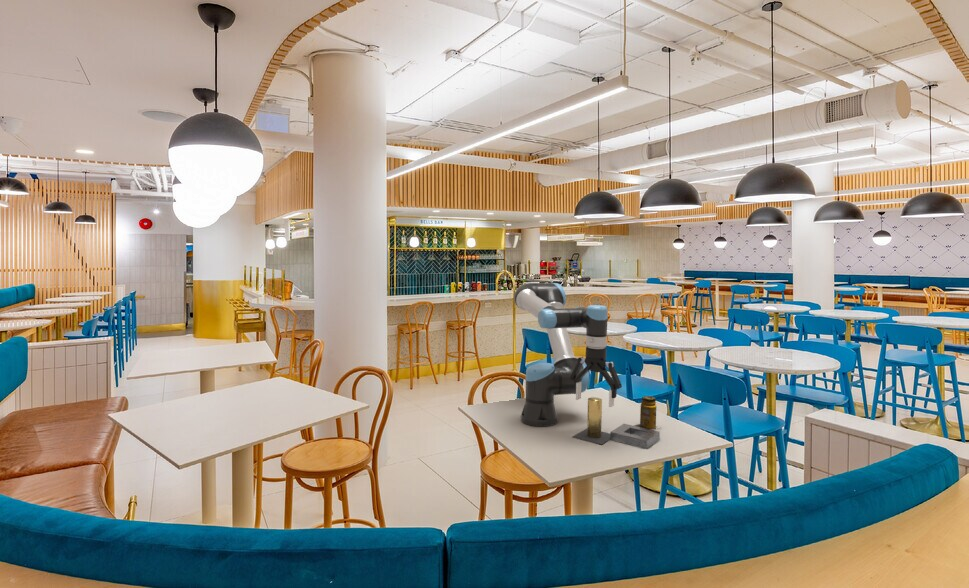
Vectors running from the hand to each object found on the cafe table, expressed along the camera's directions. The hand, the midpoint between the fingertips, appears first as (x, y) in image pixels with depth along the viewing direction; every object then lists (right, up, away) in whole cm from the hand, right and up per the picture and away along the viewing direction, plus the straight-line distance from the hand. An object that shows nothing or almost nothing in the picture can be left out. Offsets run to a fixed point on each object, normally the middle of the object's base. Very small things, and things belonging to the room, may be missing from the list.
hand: (594, 402), depth 187 cm
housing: (+15, -13, -2) cm, 20 cm away
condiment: (+23, -13, +11) cm, 29 cm away
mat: (0, -13, +1) cm, 13 cm away
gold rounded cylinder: (0, -13, +1) cm, 13 cm away
